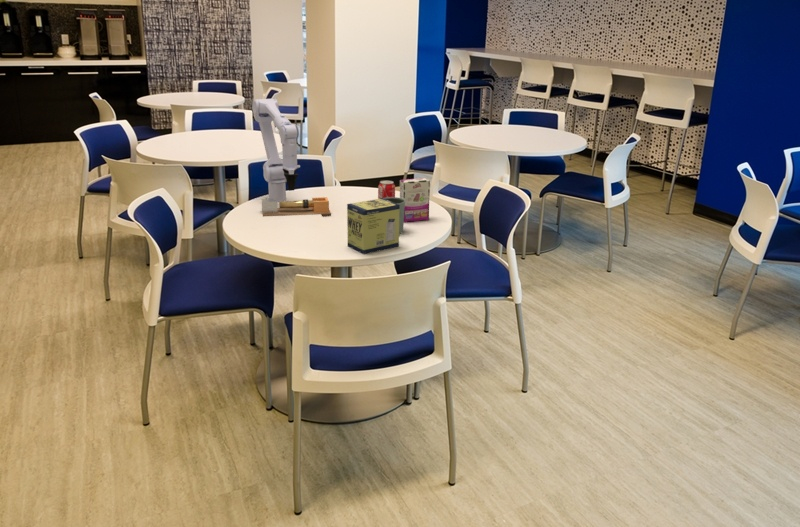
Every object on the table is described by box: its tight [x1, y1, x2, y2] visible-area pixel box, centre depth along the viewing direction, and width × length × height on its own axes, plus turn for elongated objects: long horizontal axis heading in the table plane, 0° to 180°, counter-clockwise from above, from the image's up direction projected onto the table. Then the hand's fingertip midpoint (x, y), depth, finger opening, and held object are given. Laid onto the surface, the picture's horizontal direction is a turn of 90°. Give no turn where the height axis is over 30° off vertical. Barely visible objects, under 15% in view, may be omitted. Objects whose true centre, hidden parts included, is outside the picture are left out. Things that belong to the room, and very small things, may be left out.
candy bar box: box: [399, 177, 431, 223], centre depth 269 cm, size 11×5×16 cm, turn 112°
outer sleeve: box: [261, 198, 279, 215], centre depth 274 cm, size 5×6×5 cm
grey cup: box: [383, 196, 405, 234], centre depth 255 cm, size 10×10×12 cm
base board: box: [262, 207, 332, 217], centre depth 277 cm, size 12×27×1 cm, turn 103°
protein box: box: [346, 198, 400, 255], centre depth 237 cm, size 10×16×16 cm
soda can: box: [377, 180, 396, 199], centre depth 283 cm, size 7×7×12 cm
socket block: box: [311, 196, 330, 213], centre depth 278 cm, size 7×6×4 cm
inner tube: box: [278, 199, 319, 209], centre depth 276 cm, size 4×16×4 cm, turn 102°
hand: (290, 188), depth 278 cm, fingers open, 7 cm apart
